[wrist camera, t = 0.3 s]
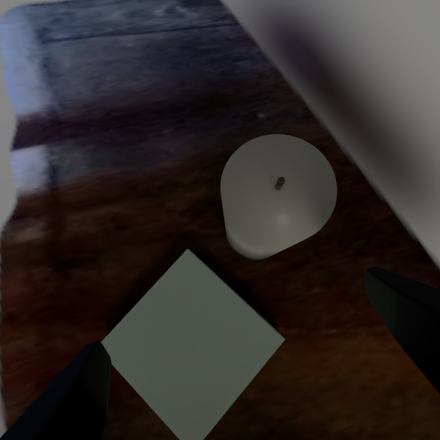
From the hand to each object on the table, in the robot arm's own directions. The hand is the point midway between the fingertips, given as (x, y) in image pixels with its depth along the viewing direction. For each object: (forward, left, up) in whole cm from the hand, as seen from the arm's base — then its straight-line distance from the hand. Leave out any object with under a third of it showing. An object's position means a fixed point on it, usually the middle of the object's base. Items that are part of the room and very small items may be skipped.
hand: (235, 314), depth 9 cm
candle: (+2, -5, -14) cm, 15 cm away
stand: (0, +5, -14) cm, 15 cm away
